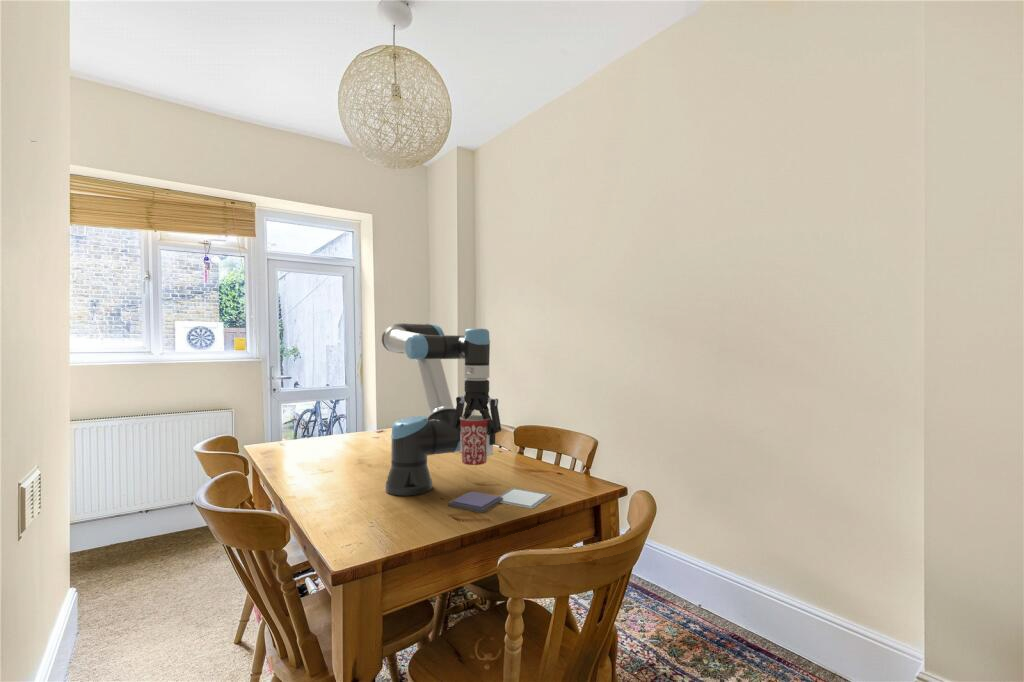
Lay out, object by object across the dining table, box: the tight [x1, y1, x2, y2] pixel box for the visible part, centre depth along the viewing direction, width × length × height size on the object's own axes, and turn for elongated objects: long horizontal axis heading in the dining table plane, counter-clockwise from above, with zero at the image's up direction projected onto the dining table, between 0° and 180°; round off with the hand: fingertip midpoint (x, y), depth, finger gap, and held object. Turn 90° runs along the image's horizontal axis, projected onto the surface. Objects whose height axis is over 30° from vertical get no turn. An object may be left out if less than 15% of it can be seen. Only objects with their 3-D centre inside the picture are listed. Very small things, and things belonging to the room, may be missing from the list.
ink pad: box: [447, 491, 503, 514], centre depth 140 cm, size 12×12×1 cm
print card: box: [498, 487, 552, 510], centre depth 145 cm, size 14×14×1 cm
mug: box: [460, 414, 490, 466], centre depth 141 cm, size 13×9×14 cm
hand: (476, 453), depth 140 cm, fingers closed on mug, 8 cm apart
